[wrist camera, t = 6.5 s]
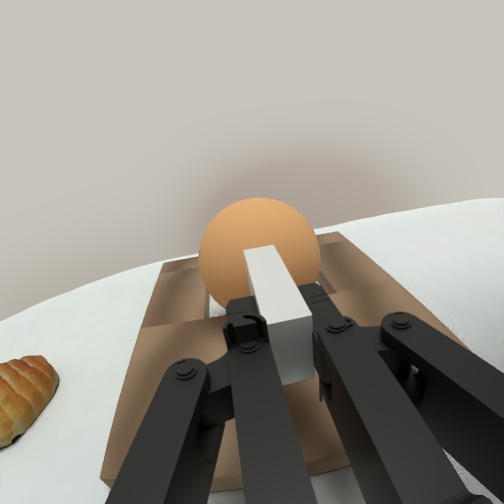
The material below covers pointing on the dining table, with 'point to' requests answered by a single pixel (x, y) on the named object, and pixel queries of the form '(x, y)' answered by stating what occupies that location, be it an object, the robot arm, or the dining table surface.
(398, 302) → the hole board
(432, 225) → the dining table surface
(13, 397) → the pastry
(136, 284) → the dining table surface
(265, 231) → the ball
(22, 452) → the dining table surface
